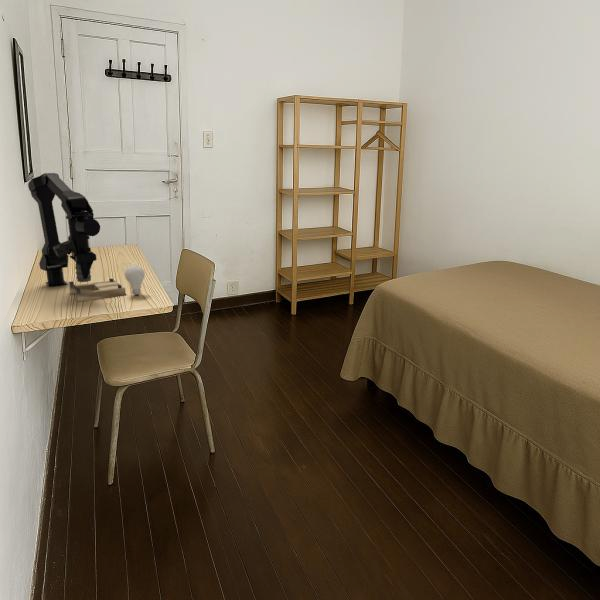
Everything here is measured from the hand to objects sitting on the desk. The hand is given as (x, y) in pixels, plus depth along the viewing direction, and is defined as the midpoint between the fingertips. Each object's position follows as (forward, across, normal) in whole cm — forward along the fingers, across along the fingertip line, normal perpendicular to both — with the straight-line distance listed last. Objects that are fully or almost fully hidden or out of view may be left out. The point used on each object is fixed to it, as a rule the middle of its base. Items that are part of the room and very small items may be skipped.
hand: (83, 277), depth 185 cm
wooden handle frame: (+7, 0, +4) cm, 8 cm away
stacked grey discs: (+1, 0, 0) cm, 1 cm away
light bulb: (+7, +10, +15) cm, 19 cm away
